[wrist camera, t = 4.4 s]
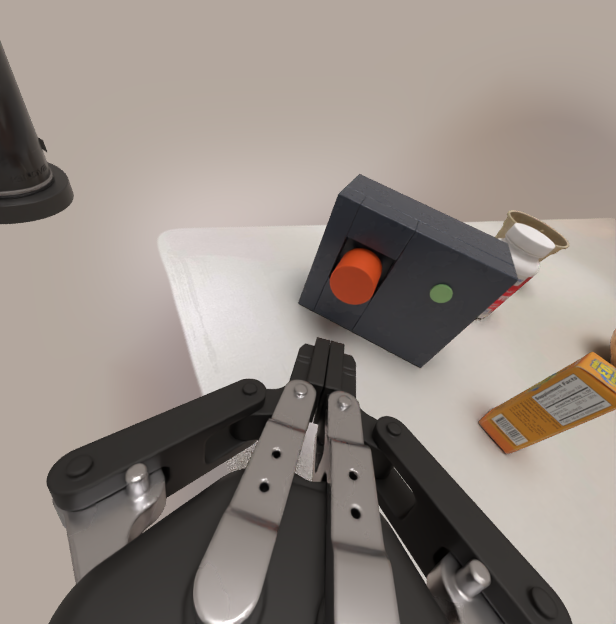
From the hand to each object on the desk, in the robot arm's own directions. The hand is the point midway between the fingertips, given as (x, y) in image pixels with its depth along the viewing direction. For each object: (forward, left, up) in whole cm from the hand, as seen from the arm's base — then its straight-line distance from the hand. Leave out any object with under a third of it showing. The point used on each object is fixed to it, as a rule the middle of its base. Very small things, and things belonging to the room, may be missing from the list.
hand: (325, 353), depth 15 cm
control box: (+6, +13, -8) cm, 16 cm away
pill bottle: (+21, +22, -9) cm, 31 cm away
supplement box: (+19, +4, -9) cm, 21 cm away
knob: (+2, +10, -3) cm, 10 cm away
